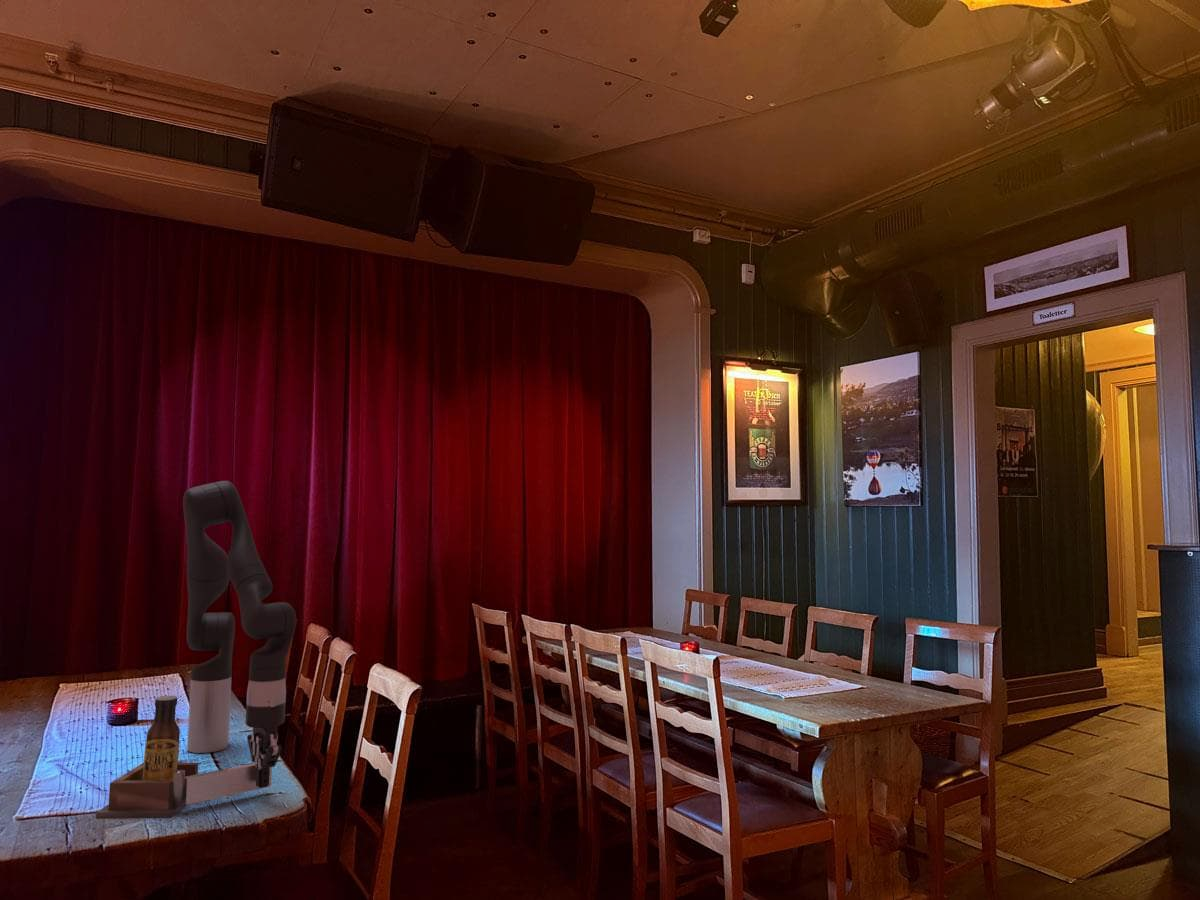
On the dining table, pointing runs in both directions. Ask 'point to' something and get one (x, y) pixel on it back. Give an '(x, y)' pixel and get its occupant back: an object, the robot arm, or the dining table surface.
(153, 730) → the sauce bottle
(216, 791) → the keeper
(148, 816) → the cradle
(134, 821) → the dining table surface
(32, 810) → the dining table surface
